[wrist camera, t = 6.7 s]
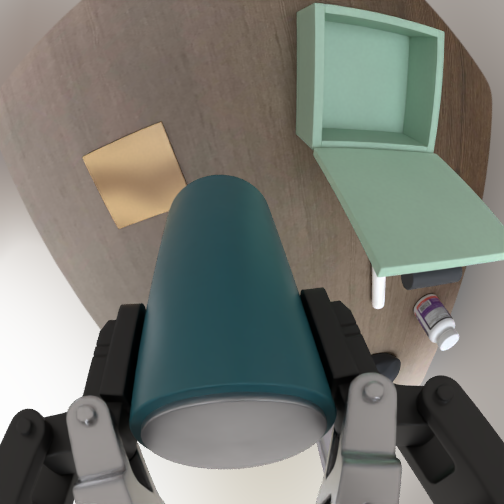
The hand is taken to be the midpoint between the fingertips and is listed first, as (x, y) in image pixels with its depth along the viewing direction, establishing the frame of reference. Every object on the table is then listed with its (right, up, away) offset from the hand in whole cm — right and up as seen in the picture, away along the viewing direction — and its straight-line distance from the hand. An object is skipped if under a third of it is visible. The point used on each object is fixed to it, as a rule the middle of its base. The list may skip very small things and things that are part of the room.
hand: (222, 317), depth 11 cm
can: (-1, +4, +6) cm, 7 cm away
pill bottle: (+32, -7, +41) cm, 53 cm away
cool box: (+12, +21, +19) cm, 31 cm away
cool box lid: (+14, +7, +12) cm, 20 cm away
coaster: (-12, +10, +23) cm, 28 cm away
